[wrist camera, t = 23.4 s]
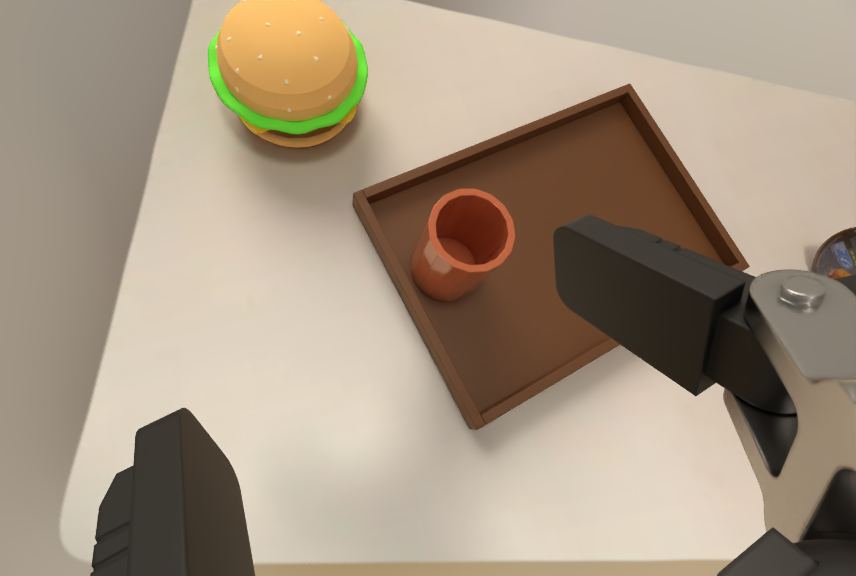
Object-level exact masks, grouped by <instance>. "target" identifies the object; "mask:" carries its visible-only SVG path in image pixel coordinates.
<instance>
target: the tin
mask: <svg viewBox="0 0 856 576" xmlns="http://www.w3.org/2000/svg"><path fill="white" fill-rule="evenodd" d="M812 272H813V273H817V274H821V275H824V276H827V277H829V278H832V279H834V280H835V279H839V278H843V277H847V276H851V275H855V274H856V227H854V228H849V229H846V230H843V231H841V232H839V233H837V234H835V235H833V236H832V237H830V238H829V239H828V240H826V241H825V242H824V243H823V244H822V246H821V247H820V248H819V250H818V251H817V253H816V255H815V258H814V260H813V265H812Z"/></svg>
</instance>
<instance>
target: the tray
mask: <svg viewBox="0 0 856 576" xmlns="http://www.w3.org/2000/svg"><path fill="white" fill-rule="evenodd" d="M457 189H478V190H480V191H483V192H486V193H489V194H491V195H493V196H494V197H495V198H496V199H498V200H499V201H500V202H501V203H502V204H503V205H504V206H505V207H506V209H507V211H508V212H509V214H510V216H511V217H512V219H513V223H514V230H515V241H514V244H513V248H512V252H511V253H510V255H509V256H508V257H507V258H506V259H505V261H504V262H503V263H502V264H501V265H500V266H499V267H498V268H497V269H496V270H495V271H494V272H492V273H491V274H490V275H489V276H488V277H487V278H486V279H485V280H484V281H483V282H481V283H480V284H479V285H478V286H477V287H476V288H475V289H474V290H473V291H472V292H470V293H469V294H467V295H466V296H464V297H463V298H461V299H458V300H455V301H439V300H435V299H433V298H431V297H429V296H427V295H426V294H424V293H423V292H422V291H421V290H420V289H419V288H418V286H417V285H416V283H415V282H414V280H413V277H412V274H411V265H410V264H411V258H412V255H413V252H414V249H415V246H416V244H417V242H418V240H419V237H420V235H421V233H422V231H423V228H424V226H425V224H426V222H427V219H428V217H429V215H430V213H431V210H432V208H433V206H434V205H435V204H436V203H437V202H438V201H439V200H440V199H441V198H442V197H443V196H444V195H446V194H448V193H450V192H453V191H455V190H457ZM353 206H354V208H355V210H356V212H357V214H358V216H359V218H360V220H361V221H362V223H363V225H364V227H365V229H366V231H367V233H368V235H369V237H370V239H371V241H372V243H373V244H374V246H375V248H376V250H377V252H378V254H379V256H380V258H381V260H382V262H383V264H384V266H385V267H386V269H387V271H388V273H389V275H390V277H391V279H392V281H393V283H394V285H395V287H396V289H397V290H398V292H399V294H400V296H401V298H402V300H403V302H404V304H405V306H406V308H407V310H408V312H409V313H410V315H411V317H412V319H413V321H414V323H415V325H416V327H417V329H418V331H419V333H420V335H421V336H422V338H423V340H424V342H425V344H426V346H427V348H428V350H429V352H430V354H431V356H432V358H433V359H434V361H435V363H436V365H437V367H438V369H439V371H440V373H441V375H442V377H443V379H444V381H445V382H446V384H447V386H448V388H449V390H450V392H451V394H452V396H453V398H454V400H455V402H456V404H457V405H458V407H459V409H460V411H461V413H462V415H463V417H464V419H465V421H466V423H467V425H468V427H469V428H470V429H476V430H478V429H480V428H481V427H483V426H485V424H488V423H490V422H491V421H493V420H495V419H496V418H498V417H500V416H501V415H503V414H505V413H506V412H508V411H510V410H511V409H513V408H515V407H516V406H518V405H520V404H521V403H523V402H525V401H526V400H528V399H530V398H531V397H533V396H535V395H536V394H538V393H540V392H541V391H543V390H545V389H546V388H548V387H550V386H551V385H553V384H555V383H556V382H558V381H560V380H561V379H563V378H565V377H566V376H568V375H570V374H571V373H573V372H575V371H576V370H578V369H580V368H581V367H583V366H585V365H586V364H588V363H590V362H591V361H593V360H595V359H596V358H598V357H600V356H601V355H603V354H605V353H606V352H608V351H610V350H612V349H613V348H615V347H617V346H618V345H620V344H619V343H618V342H616V341H615V340H613V339H612V338H610V337H609V336H607V335H606V334H605V333H603V332H602V331H600V330H599V329H597V328H596V327H594V326H593V325H591V324H590V323H589V322H587V321H586V320H584V319H583V318H581V317H580V316H578V315H577V314H575V313H574V312H573V311H571V310H570V309H569V308H567V307H566V306H565V304H564V303H563V302H562V300H561V299H560V297H559V295H558V292H557V289H556V283H555V265H554V248H553V235H554V232H555V230H556V229H557V228H558V227H561V226H563V225H565V224H567V223H569V222H571V221H573V220H575V219H577V218H579V217H581V216H583V215H587V214H589V215H593V216H596V217H598V218H600V219H602V220H605V221H607V222H609V223H612V224H614V225H619V226H624V227H630V228H636V229H641V230H644V231H646V232H648V233H651V234H653V235H656V236H658V237H660V238H663V241H666V240H668V241H670V242H672V243H675V244H677V245H680V246H681V248H682V249H684V248H687V249H689V250H692V251H694V252H696V253H699V254H701V255H703V256H706V257H708V258H711V259H713V260H715V261H718V262H720V263H723V264H725V265H727V266H730V267H732V268H735V269H737V270H739V271H743V270H745V269H747V268H748V267H749V264H748V263H747V261H746V260H745V258H744V257H743V255H742V254H741V252H740V251H739V249H738V248H737V246H736V245H735V243H734V242H733V240H732V238H731V237H730V235H729V234H728V232H727V231H726V229H725V228H724V226H723V225H722V223H721V222H720V220H719V219H718V217H717V216H716V214H715V213H714V211H713V209H712V208H711V206H710V205H709V203H708V202H707V200H706V199H705V197H704V196H703V194H702V193H701V191H700V190H699V188H698V187H697V185H696V183H695V182H694V180H693V179H692V177H691V176H690V174H689V173H688V171H687V170H686V168H685V167H684V165H683V164H682V162H681V161H680V159H679V157H678V156H677V154H676V153H675V151H674V150H673V148H672V147H671V145H670V144H669V142H668V141H667V139H666V138H665V136H664V135H663V133H662V131H661V130H660V128H659V127H658V125H657V124H656V122H655V121H654V119H653V118H652V116H651V115H650V113H649V112H648V110H647V109H646V107H645V106H644V104H643V102H642V101H641V99H640V98H639V96H638V95H637V93H636V92H635V90H634V89H633V87H632V86H631V84H627V85H625V86H622V87H620V88H617V89H615V90H612V91H610V92H607V93H605V94H602V95H600V96H597V97H594V98H592V99H589V100H587V101H584V102H582V103H579V104H577V105H574V106H572V107H569V108H567V109H564V110H562V111H559V112H557V113H554V114H552V115H549V116H547V117H544V118H542V119H539V120H537V121H534V122H532V123H529V124H527V125H524V126H521V127H519V128H516V129H514V130H511V131H509V132H506V133H504V134H501V135H499V136H496V137H494V138H491V139H489V140H486V141H484V142H481V143H479V144H476V145H474V146H471V147H469V148H466V149H464V150H461V151H459V152H456V153H453V154H451V155H448V156H446V157H443V158H441V159H438V160H436V161H433V162H431V163H428V164H426V165H423V166H421V167H418V168H416V169H413V170H411V171H408V172H406V173H403V174H401V175H398V176H396V177H393V178H391V179H388V180H386V181H383V182H380V183H378V184H375V185H373V186H370V187H368V188H365V189H363V190H361V191H358V192H355V193H353Z"/></svg>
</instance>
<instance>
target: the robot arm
mask: <svg viewBox="0 0 856 576" xmlns="http://www.w3.org/2000/svg"><path fill="white" fill-rule="evenodd" d="M553 248H554V265H555V283H556V289H557V292H558V295H559V297H560V299H561V300H562V302H563V303H564V304H565V306H566V307H567V308H569V309H570V310H571V311H573V312H574V313H575V314H577V315H578V316H580V317H581V318H583V319H584V320H586V321H587V322H589V323H590V324H591V325H593V326H594V327H596V328H597V329H599V330H600V331H602V332H603V333H605V334H606V335H607V336H609V337H610V338H612V339H613V340H615V341H616V342H618V343H619V344H621V345H622V346H623V347H625V348H626V349H628V350H629V351H631V352H632V353H634V354H635V355H637V356H638V357H639V358H641V359H642V360H644V361H645V362H647V363H648V364H650V365H651V366H653V367H654V368H655V369H657V370H658V371H660V372H661V373H663V374H664V375H666V376H667V377H669V378H670V379H671V380H673V381H674V382H676V383H677V384H679V385H680V386H682V387H683V388H685V389H686V390H687V391H689V392H690V393H692V394H693V395H695V396H697V395H699V394H700V393H702V392H703V391H704V390H706V389H707V388H709V387H710V386H712V385H713V384H715V383H718V384H719V385H721V386H722V387H724V388H725V389H724V393H723V399H724V403H725V405H726V408H727V410H728V412H729V415H730V417H731V419H732V422H733V424H734V426H735V429H736V431H737V433H738V436H739V438H740V440H741V443H742V445H743V447H744V450H745V452H746V454H747V457H748V459H749V461H750V464H751V466H752V468H753V471H754V473H755V475H756V478H757V480H758V482H759V485H760V488H761V491H762V495H763V501H764V520H765V527H766V533H765V534H764V535H763V536H762V537H760V538H759V539H758V540H757V541H756V542H755V543H753V544H752V545H751V546H750V547H749V548H747V549H746V550H745V551H744V552H743V553H741V554H740V555H739V556H738V557H737V558H736V559H734V560H733V561H732V562H731V563H730V564H728V565H727V566H726V567H725V568H724V569H723V570H721V571H720V572H719V573H718V575H717V576H856V274H855V275H851V276H847V277H843V278H839V279H835V280H834V279H832V278H829V277H827V276H824V275H821V274H817V273H813V272H808V271H801V270H776V271H771V272H767V273H764V274H761V275H760V276H758V277H754V276H751V275H749V274H747V273H744V272H742V271H739V270H737V269H735V268H732V267H730V266H727V265H725V264H723V263H720V262H718V261H715V260H713V259H711V258H708V257H706V256H703V255H701V254H699V253H696V252H694V251H692V250H689V249H687V248H684V249H682V248H681V246H680V245H677V244H675V243H672V242H670V241H668V240H666V241H663V238H660V237H658V236H656V235H653V234H651V233H648V232H646V231H644V230H641V229H636V228H630V227H624V226H619V225H614V224H612V223H609V222H607V221H605V220H602V219H600V218H598V217H596V216H593V215H589V214H587V215H583V216H581V217H579V218H577V219H575V220H573V221H571V222H569V223H567V224H565V225H563V226H561V227H558V228H557V229H556V230H555V232H554V235H553ZM95 539H96V541H97V544H96V545H94V552H93V560H92V567H93V569H94V572H92V573H91V575H90V576H255V572H254V566H253V560H252V554H251V548H250V542H249V537H248V531H247V525H246V519H245V513H244V508H243V502H242V496H241V490H240V486H239V482H238V479H237V476H236V474H235V472H234V469H233V467H232V465H231V464H230V462H229V460H228V459H227V457H226V456H225V455H224V453H223V452H222V451H221V449H220V448H219V447H218V446H217V444H216V443H215V442H214V441H213V439H212V438H211V437H210V435H209V434H208V433H207V432H206V430H205V429H204V428H203V427H202V425H201V424H200V423H199V421H198V420H197V419H196V418H195V416H194V415H193V414H192V413H191V412H190V411H189V410H188V409H186V408H181V409H179V410H177V411H175V412H173V413H171V414H169V415H167V416H165V417H163V418H161V419H159V420H157V421H154V422H152V423H150V424H148V425H146V426H144V427H142V428H140V429H138V431H137V432H136V437H135V451H134V465H133V466H131V467H129V468H127V469H125V470H123V471H121V472H119V473H117V474H116V476H115V478H114V480H113V481H112V483H111V485H110V487H109V489H108V491H107V493H106V495H105V497H104V499H103V501H102V503H101V505H100V507H99V513H98V521H97V529H96V536H95Z"/></svg>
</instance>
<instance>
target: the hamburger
mask: <svg viewBox="0 0 856 576" xmlns="http://www.w3.org/2000/svg"><path fill="white" fill-rule="evenodd" d="M208 67H209V75H210V79H211V82H212V84H213V87H214V89H215V91H216V92H217V94H218V96H219V97H220V99H221V100H222V102H223V103H224V104H225V105H226V106H227V107H228V108H230V109H231V110H232V111H234V112H235V113H237V114H238V116H239V117H240V119H241V120H242V122H243V123H244V124H245V126H246V127H247V128H248V129H249V130H250V131H251V132H253V133H254V134H256V135H258V136H260V137H261V138H263V139H265V140H267V141H269V142H272V143H274V144H277V145H281V146H285V147H295V148H299V147H309V146H314V145H318V144H320V143H323V142H325V141H327V140H329V139H331V138H332V137H334V136H335V135H336V134H338V133H339V132H340V131H341V130H342V129H343V128H344V127H345V125H346V124H347V123H349V122H350V121H351V120H352V119H353V118H354V116H355V114H356V111H357V106H358V103H359V101H360V100H361V98H362V96H363V94H364V91H365V87H366V83H367V77H368V68H367V62H366V57H365V53H364V49H363V46H362V44H361V43H360V41H359V40H358V39H357V38H356V37H355V36H354V35H353V34H352V33H351V31H350V30H349V29H348V28H347V26H346V25H345V24H344V22H343V21H342V20H341V19H340V18H339V17H338V16H337V15H336V13H335V12H334V11H333V10H332V9H330V8H329V7H328V6H327V5H326V4H324V3H322V2H321V1H319V0H242V1H240V2H239V3H238V4H236V5H235V6H234V7H233V8H232V9H231V10H230V12H229V13H228V15H227V16H226V18H225V19H224V22H223V24H222V27H221V28H220V30H219V32H218V33H217V35H216V36H215V38H214V39H213V40H212V41H211V43H210V45H209V49H208Z"/></svg>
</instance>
